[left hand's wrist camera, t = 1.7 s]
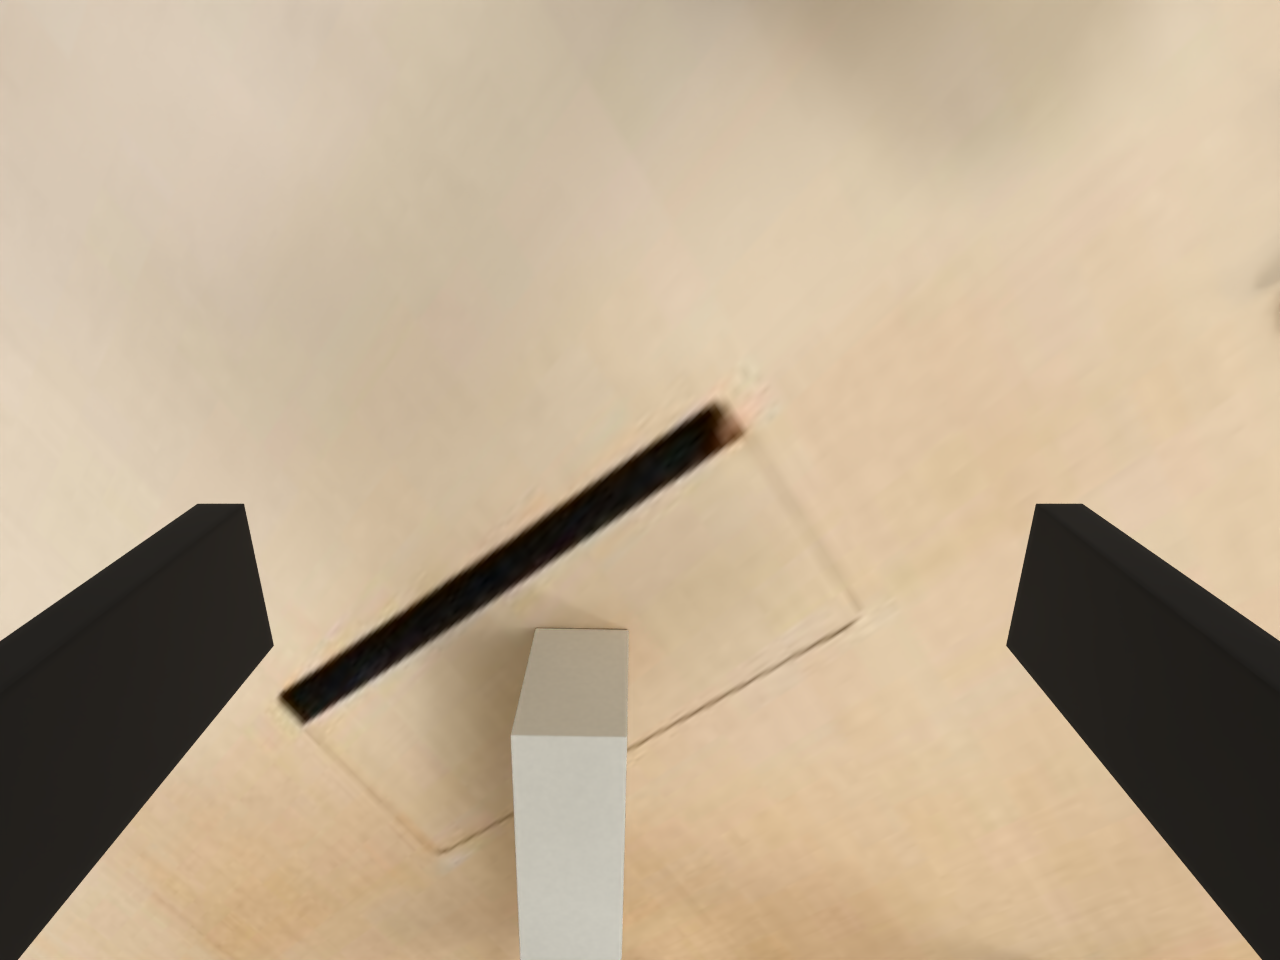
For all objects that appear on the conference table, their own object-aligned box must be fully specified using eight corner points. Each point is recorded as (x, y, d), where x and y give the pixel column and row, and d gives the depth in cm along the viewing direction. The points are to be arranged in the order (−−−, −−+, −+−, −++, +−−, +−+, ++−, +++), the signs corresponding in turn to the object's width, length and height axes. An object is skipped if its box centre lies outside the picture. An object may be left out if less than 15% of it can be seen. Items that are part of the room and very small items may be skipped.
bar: (535, 627, 43) (510, 735, 34) (628, 629, 43) (627, 737, 34) (543, 932, 52) (525, 1081, 43) (621, 933, 52) (618, 1081, 43)
